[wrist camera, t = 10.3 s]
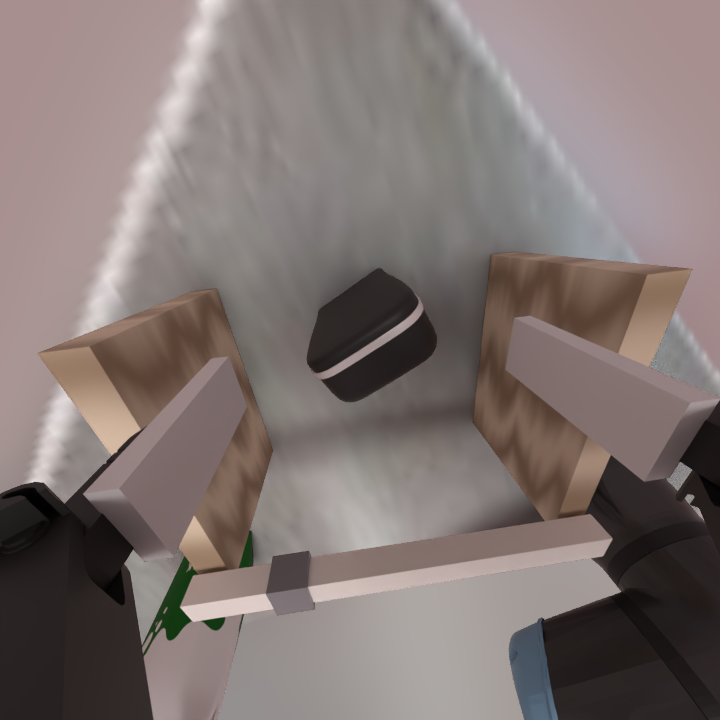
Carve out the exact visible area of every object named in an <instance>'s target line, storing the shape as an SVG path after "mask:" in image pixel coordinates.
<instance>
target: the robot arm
mask: <svg viewBox="0 0 720 720" xmlns="http://www.w3.org/2000/svg"><path fill="white" fill-rule="evenodd" d="M505 370H507V371H508V372H509V373H510V374H511V375H513V376H514V377H515V378H516V379H518V380H519V381H520V382H521V383H523V384H524V385H525V386H526V387H528V388H529V389H530V390H531V391H533V392H534V393H535V394H536V395H537V396H539V397H540V398H541V399H542V400H544V401H545V402H546V403H547V404H549V405H550V406H551V407H552V408H554V409H555V410H556V411H557V412H558V413H560V414H561V415H562V416H563V417H565V418H566V419H567V420H568V421H570V422H571V423H572V424H573V425H575V426H576V427H577V428H578V429H580V430H581V431H582V432H583V433H584V434H586V435H587V436H588V437H589V438H591V439H592V440H593V441H594V442H596V443H597V444H598V445H599V446H601V447H602V448H603V449H604V450H606V451H607V452H608V453H609V454H610V455H611V456H610V458H609V460H608V463H607V465H606V467H605V469H604V472H603V474H602V476H601V479H600V481H599V483H598V485H597V488H596V490H595V492H594V494H593V497H592V499H591V501H590V504H589V506H588V508H587V510H586V513H585V515H588V514H591V515H592V516H593V517H594V518H595V520H596V521H597V522H598V523H599V524H600V525H601V526H602V527H603V528H604V529H605V531H606V532H607V533H608V534H609V535H610V536H611V537H612V538H613V539H612V541H611V543H610V545H609V547H608V548H607V550H606V552H605V554H604V556H602V557H596V558H591V559H593V560H594V561H595V562H596V563H598V564H599V565H600V566H601V567H602V568H603V569H604V571H605V572H606V573H607V574H608V575H609V577H610V578H611V579H612V580H613V582H614V583H615V584H616V585H617V587H618V588H619V589H620V590H621V592H620V593H618V594H615V595H613V596H609V597H606V598H603V599H601V600H598V601H595V602H592V603H590V604H587V605H584V606H581V607H579V608H576V609H573V610H571V611H568V612H565V613H562V614H559V615H557V616H554V617H552V618H549V619H546V620H544V619H543V618H540V619H538V621H537V623H535V624H532V625H530V626H528V627H526V628H524V629H521V630H519V631H517V632H515V633H514V634H513V636H512V637H511V639H510V644H509V657H510V658H509V659H510V665H511V669H512V675H513V680H514V684H515V688H516V692H517V695H518V699H519V703H520V706H521V709H522V713H523V716H524V720H720V398H719V397H717V396H714V395H712V394H710V393H707V392H705V391H703V390H701V389H698V388H696V387H694V386H691V385H689V384H687V383H684V382H682V381H680V380H677V379H675V378H673V377H671V376H668V375H666V374H664V373H661V372H659V371H657V370H654V369H652V368H650V367H647V366H645V365H643V364H641V363H638V362H636V361H634V360H631V359H629V358H627V357H624V356H622V355H620V354H617V353H615V352H613V351H610V350H608V349H606V348H604V347H601V346H599V345H597V344H594V343H592V342H590V341H587V340H585V339H583V338H580V337H578V336H576V335H574V334H571V333H569V332H567V331H564V330H562V329H560V328H557V327H555V326H553V325H550V324H548V323H546V322H544V321H541V320H539V319H537V318H534V317H532V316H524V317H517V318H514V322H513V328H512V334H511V339H510V345H509V351H508V357H507V363H506V368H505ZM246 408H247V403H246V401H245V398H244V396H243V393H242V390H241V388H240V385H239V382H238V380H237V377H236V374H235V372H234V369H233V366H232V364H231V361H230V358H229V356H227V357H219V358H212V359H210V361H209V362H208V363H207V364H206V365H205V366H204V367H203V368H202V369H201V370H200V371H199V372H198V373H197V374H196V375H195V376H194V377H193V378H192V379H191V381H190V382H189V383H188V384H187V385H186V386H185V387H184V388H183V389H182V390H181V391H180V392H179V393H178V394H177V395H176V396H175V397H174V398H173V399H172V401H171V402H170V403H169V404H168V405H167V406H166V407H165V408H164V409H163V410H162V411H161V412H160V413H159V414H158V415H157V416H156V417H155V418H154V420H153V421H152V422H151V423H150V424H149V425H148V426H145V427H144V428H143V429H141V430H140V431H138V432H137V433H135V434H134V435H133V436H131V437H130V438H129V439H128V440H127V441H126V442H125V443H124V444H123V445H122V446H121V447H120V448H119V449H118V450H117V453H114V454H113V455H112V456H111V457H110V458H109V459H108V460H107V461H106V462H107V463H106V464H103V465H102V466H101V467H100V468H99V469H98V470H97V471H96V472H95V473H94V474H93V475H92V476H91V477H90V478H89V479H88V480H87V482H86V483H85V484H84V485H83V486H82V487H81V488H80V489H79V490H78V491H77V492H76V493H75V494H74V495H73V496H72V497H71V498H70V499H69V500H68V501H67V502H66V503H65V504H64V503H63V502H62V501H61V500H60V499H59V498H58V497H57V496H56V495H55V494H54V493H53V492H52V491H51V490H50V489H49V488H48V487H47V486H46V485H45V484H44V483H40V482H33V483H28V484H24V485H20V486H18V487H15V488H13V489H10V490H8V491H5V492H3V493H1V494H0V720H154V719H153V713H152V706H151V700H150V694H149V688H148V681H147V675H146V669H145V663H144V657H143V650H142V644H141V638H140V632H139V625H138V619H137V613H136V607H135V600H134V594H133V588H132V582H131V575H130V572H129V570H128V568H127V567H126V566H125V565H124V563H125V561H126V560H127V558H128V557H129V555H130V553H131V552H132V550H134V551H135V552H136V553H137V554H138V555H139V556H140V557H141V558H142V559H143V561H144V562H145V561H152V560H158V559H164V558H170V557H174V556H175V554H176V552H177V549H178V547H179V545H180V543H181V541H182V539H183V537H184V535H185V533H186V531H187V529H188V527H189V525H190V523H191V521H192V519H193V517H194V515H195V513H196V511H197V508H198V506H199V504H200V502H201V500H202V498H203V496H204V494H205V492H206V490H207V488H208V486H209V484H210V482H211V480H212V478H213V476H214V474H215V472H216V469H217V467H218V465H219V463H220V461H221V459H222V457H223V455H224V453H225V451H226V449H227V447H228V445H229V443H230V441H231V439H232V437H233V435H234V433H235V431H236V428H237V426H238V424H239V422H240V420H241V418H242V416H243V414H244V412H245V410H246ZM679 462H682V463H683V464H685V465H686V466H688V467H689V468H691V469H692V472H691V473H690V475H689V476H688V477H687V479H686V480H685V482H684V483H683V485H682V486H681V488H680V489H679V490H678V491H677V490H676V489H675V488H674V487H673V486H672V485H671V484H670V483H669V482H668V481H667V480H666V478H670V476H671V475H672V473H673V472H674V470H675V469H676V467H677V466H678V464H679ZM687 494H691V495H694V497H695V498H694V499H693V500H692V502H691V503H690V505H692V506H695V507H698V508H699V509H700V511H701V514H702V516H703V518H704V520H703V519H702V518H701V517H700V516H699V515H698V514H697V513H696V512H695V511H694V510H693V508H692V507H691V506H690V505H689V504H688V502H687V501H686V500H685V499H684V498H685V497H686V495H687Z"/></svg>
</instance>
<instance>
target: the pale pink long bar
mask: <svg viewBox="0 0 720 720" xmlns="http://www.w3.org/2000/svg"><path fill="white" fill-rule="evenodd" d="M612 539H613V538H612V537H611V536H610V535H609V534H608V533H607V532H606V531H605V529H604V528H603V527H602V526H601V525H600V524H599V523H598V522H597V521H596V520H595V518H594V517H593V516H592V515H591V514H588V515H581V516H575V517H568V518H562V519H555V520H549V521H543V522H536V523H530V524H523V525H517V526H510V527H504V528H497V529H491V530H485V531H478V532H472V533H465V534H459V535H452V536H446V537H439V538H433V539H426V540H420V541H414V542H407V543H401V544H394V545H388V546H381V547H375V548H368V549H362V550H355V551H349V552H343V553H336V554H330V555H323V556H317V557H311V555H310V552H309V551H305V552H298V553H292V554H285V555H279V556H273V559H272V564H265V565H259V566H252V567H246V568H239V569H233V570H226V571H220V572H213V573H207V574H201V575H194V576H193V577H192V579H191V582H190V584H189V587H188V589H187V591H186V594H185V596H184V599H183V601H182V603H181V606H180V608H181V609H182V610H183V611H184V612H185V614H186V615H187V616H188V617H189V618H190V619H191V620H192V621H193V622H196V621H202V620H208V619H214V618H221V617H227V616H233V615H239V614H246V613H252V612H258V611H264V610H271V609H274V610H275V612H276V614H277V615H284V614H290V613H296V612H303V611H308V610H314V609H315V602H320V601H327V600H333V599H339V598H346V597H352V596H358V595H364V594H371V593H377V592H383V591H389V590H396V589H402V588H408V587H414V586H421V585H427V584H433V583H439V582H445V581H452V580H458V579H464V578H471V577H477V576H483V575H489V574H496V573H502V572H508V571H514V570H521V569H527V568H533V567H539V566H546V565H551V564H558V563H564V562H571V561H577V560H583V559H589V558H596V557H602V556H604V554H605V552H606V550H607V548H608V547H609V545H610V543H611V541H612Z"/></svg>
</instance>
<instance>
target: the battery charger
mask: <svg viewBox="0 0 720 720" xmlns="http://www.w3.org/2000/svg"><path fill="white" fill-rule="evenodd" d="M436 343H437V335H436V333H435V330H434V328H433V326H432V324H431V322H430V320H429V319H428V317H427V315H426V313H425V311H424V310H423V304H422V302H421V301H420V299H419V297H418V296H417V295H416V294H415V293H414V292H413V291H412V290H411V289H410V288H409V287H408V286H407V285H406V284H405V283H403V282H402V281H400V280H398V279H397V278H395V277H393V276H391V275H388V274H386V273H385V272H384V271H383V270H382V269H377V270H375V271H374V272H372V273H371V274H370V275H368V276H367V277H365V278H364V279H362V280H361V281H360V282H358V283H357V284H355V285H354V286H352V287H351V288H350V289H348V290H347V291H345V292H344V293H342V294H341V295H340V296H338V297H337V298H335V299H334V300H333V301H331V302H330V303H328V304H327V305H326V306H324V307H323V308H321V309H320V310H319V311H318V317H317V321H316V324H315V327H314V330H313V333H312V336H311V340H310V344H309V348H308V354H307V363H308V365H309V367H310V368H311V372H312V373H313V374H314V375H315V376H316V378H318V379H321V380H322V382H323V383H324V384H325V385H326V386H327V387H328V388H329V390H330V391H331V392H332V393H333V394H334V395H336V396H337V397H338V398H339V399H340V400H342V401H345V402H355V401H359V400H361V399H363V398H365V397H367V396H368V395H370V394H372V393H373V392H375V391H377V390H379V389H380V388H382V387H384V386H385V385H387V384H389V383H390V382H392V381H394V380H395V379H397V378H399V377H400V376H402V375H403V374H405V373H407V372H408V371H410V370H411V369H413V368H415V367H416V366H418V365H419V364H421V363H422V362H424V361H425V360H427V359H428V358H429V357H430V356H431V355H432V353H433V352H434V350H435V348H436Z"/></svg>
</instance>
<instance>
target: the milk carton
mask: <svg viewBox="0 0 720 720" xmlns="http://www.w3.org/2000/svg"><path fill="white" fill-rule="evenodd" d="M252 566H253V550H252V536H251V531H249V534H248V538H247V541H246V545H245V548H244V551H243V555H242V558H241V562H240V565H239V568H246V567H252ZM194 575H198V573H197V572H196V571H195V569H194V568H193V566H192V565H191V564H190V562H189V561H188V560H187V558H186V557H185V556H184V558H183V561H182V563H181V565H180V567H179V569H178V571H177V573H176V575H175V577H174V579H173V582H172V584H171V586H170V588H169V590H168V592H167V594H166V596H165V598H164V600H163V602H162V605H161V607H160V609H159V611H158V613H157V615H156V617H155V619H154V622H153V624H152V626H151V628H150V630H149V632H148V634H147V636H146V638H145V641H144V643H143V645H142V650H143V657H144V663H145V669H146V675H147V681H148V688H149V694H150V700H151V706H152V713H153V719H154V720H218V717H219V714H220V710H221V706H222V702H223V698H224V694H225V690H226V686H227V682H228V678H229V674H230V670H231V666H232V662H233V657H234V653H235V649H236V645H237V640H238V637H239V632H240V629H241V624H242V620H243V616H244V614H239V615H233V616H227V617H221V618H214V619H208V620H202V621H196V622H193V621H192V620H191V619H190V618H189V617H188V616H187V615H186V614H185V612H184V611H183V610H182V609H181V608H180V606H181V603H182V601H183V599H184V596H185V594H186V591H187V589H188V587H189V584H190V582H191V579H192V577H193V576H194Z"/></svg>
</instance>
